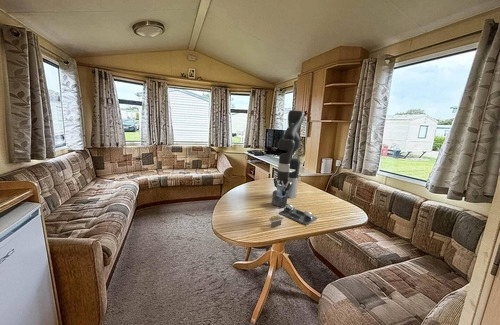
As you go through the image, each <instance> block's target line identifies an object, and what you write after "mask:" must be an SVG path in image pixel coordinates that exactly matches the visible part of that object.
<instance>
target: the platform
mask: <svg viewBox="0 0 500 325" xmlns="http://www.w3.org/2000/svg"><path fill="white" fill-rule="evenodd" d="M284 219H285V218H284V217H283V216H281V215H280V216H279V215H278V214H277V215H272V216H270V217H269V219H268V220H269V222H270V228H274V227H278V226H281V225H282V220H284Z"/></svg>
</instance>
